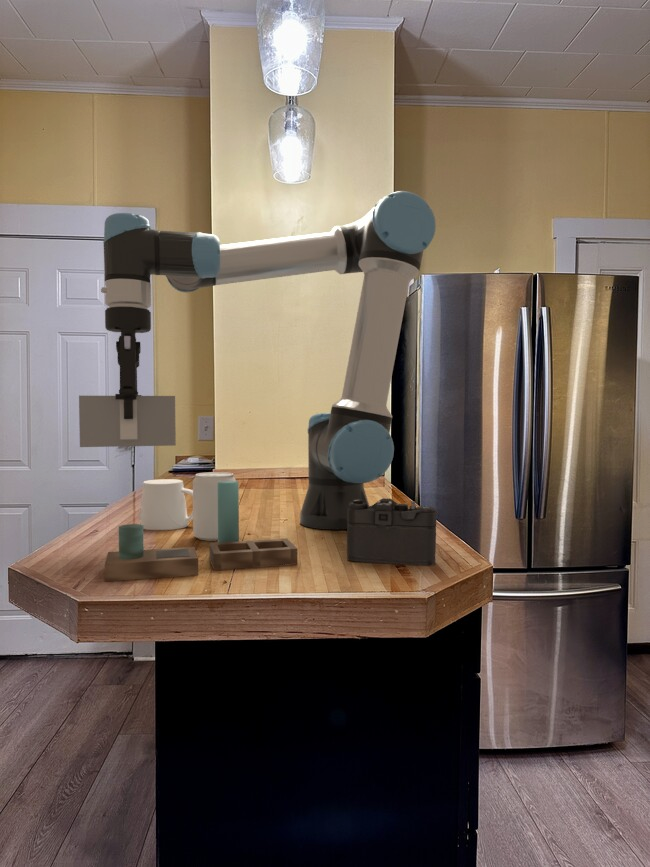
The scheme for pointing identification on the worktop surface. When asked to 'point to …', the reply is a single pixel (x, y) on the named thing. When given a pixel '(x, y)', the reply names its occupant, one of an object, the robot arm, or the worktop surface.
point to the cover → (104, 421)
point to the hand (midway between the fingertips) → (129, 437)
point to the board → (147, 558)
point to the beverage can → (207, 504)
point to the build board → (252, 554)
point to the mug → (164, 505)
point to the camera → (391, 533)
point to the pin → (228, 511)
